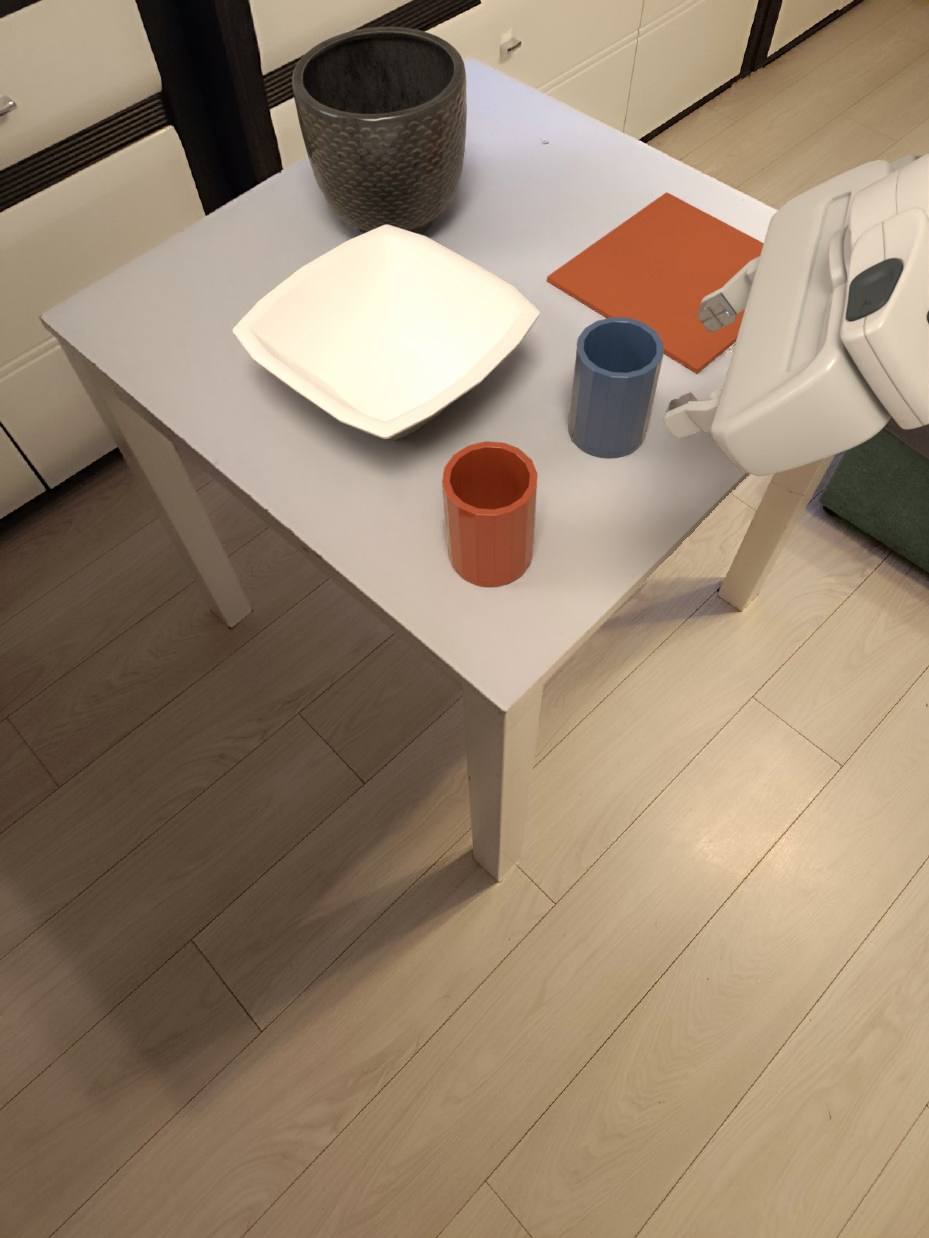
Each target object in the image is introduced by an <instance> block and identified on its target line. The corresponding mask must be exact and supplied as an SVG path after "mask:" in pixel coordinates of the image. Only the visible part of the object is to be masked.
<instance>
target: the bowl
mask: <svg viewBox="0 0 929 1238" xmlns="http://www.w3.org/2000/svg"><path fill="white" fill-rule="evenodd" d="M540 314H541V312H540V310H539V309H538V308H537V307H536V306H534V304H533V303H532V302H531V301H529V299H527V297H526V296H524V295H523V294H522V293H521V292H520V291H519V290H518V289H517V288H516V287H515V286H513V285H512V284H511V283H509V282H507V281H505V280H504V279H502V278H500V276H497V275H495V274H493V273H492V272H490V271H489V270H487V269H485V268H483V267H481V266H480V265H478V264H476V263H474V262H473V261H471V260H469V259H468V258H465V257H464V256H463V255H461V254H458V253H457V252H455V251H453V250H452V249H450V248H448V247H446V246H444V245H443V244H440V243H438V242H437V241H435V240H433V239H431V238H430V237H428V236H426V235H423V234H417V233H413V232H410V231H407V230H404V229H401V228H397V227H394V226H391V225H383V226H380V227H378V228H376V229H373V230H371V231H369V232H366V233H364V234H363V233H362V234H360V235H357V236H355V237H353V238H350V239H349V240H346V241H344V242H342V243H341V244H339V245H337V246H336V247H334V248H332V249H330V250H328V251H327V252H325V253H323V254H321V255H319V256H318V257H317V258H315V259H313V260H312V261H310V262H308V263H306V264H305V265H303V266H301V267H299V268H298V270H296V271H294V273H292V274H291V275H290V276H288V277H287V278H286V279H285V280H283V281H282V282H280V283H279V284H277V286H276V287H274V288H273V289H272V290H270V291H269V292H268V293H267V294H265V295H264V296H263V297H261V298H260V299H259V300H258V301H257V302H256V303H255V305H253V307H251V309H249V311H248V312H247V313H246V314H245V315H243V316H242V318H241V319H240V320H239V322H238V323H237V324H235V326H234V327H232V333H233V336H235V338H236V339H237V340H238V341H239V343H240V344H241V345H242V347H243V348H244V349H245V351H246V352H247V353H248V355H249V356H250V357H251V359H252V361H253V362H255V363H256V364H258V365H260V366H261V367H262V368H263V369H265V370H266V371H268V372H269V373H270V374H272V376H274V377H276V379H279V380H280V381H281V382H282V383H284V385H287V386H288V387H289V388H291V389H292V390H293V391H295V392H296V393H297V394H299V395H300V396H302V397H304V398H305V399H307V401H309V402H311V403H312V404H314V405H315V406H317V407H318V408H319V409H321V410H323V411H324V412H325V413H327V415H330V416H331V417H332V418H334V419H336V420H337V421H338V422H340V423H342V424H344V425H347V426H349V427H353V428H355V429H357V430H360V431H362V432H365V433H367V434H370V435H372V436H375V437H378V438H381V439H383V440H387V439H389V440H391V441H397V440H400V439H403V438H404V437H406V436H408V435H410V434H412V433H414V432H416V431H418V430H420V428H422V427H424V426H425V425H426V424H428V423H429V422H430V421H432V420H433V419H435V418H437V417H438V416H439V415H440V414H441V413H442V412H443V411H444V410H445V409H446V408H447V407H448V406H449V405H451V404H453V403H454V402H455V401H457V400H458V399H460V398H461V397H462V396H464V395H465V394H467V393H469V392H470V391H471V390H472V389H474V388H475V387H477V386H478V385H479V384H481V383H482V382H483V381H484V380H485V379H486V378H487V377H488V376H489V375H490V374H491V373H492V372H493V371H494V370H495V369H496V368H497V367H498V366H499V365H501V363H502V362H503V361H504V360H506V359H507V358H508V356H509V355H511V354H512V352H513V351H515V349H517V348H518V347H519V346H520V344H521V342H522V341H523V340H524V338H525V337H526V335H527V334H528V333H529V331H531V328H532V327H533V326H534V324H535V323H536V321H537V320H538V319H539V317H540Z"/></svg>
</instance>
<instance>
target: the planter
mask: <svg viewBox="0 0 929 1238" xmlns="http://www.w3.org/2000/svg"><path fill="white" fill-rule="evenodd" d="M466 72H467V71H466V67H465V62H464V60H463V58H462V55H461V54H460V52H459V51H458V50H457V49H456V47H454V45H452V44H451V43H450V42H448V41H447V40H445V39H443V38H442V37H440V36H438V35H435V34H433V33H430V32H427V31H423V30H420V29H417V28H409V27H403V26H401V27H400V26H375V27H365V28H360V29H359V28H358V29H354V30H349V31H347V32H343V33H340V34H337V35H334V36H331V37H330V38H327V39H325V40H323V41H321V42H320V43H318V44H316V45H314V46H313V47H311V48H310V49H309V50H307V52H305V54H304V55H302V57H301V58H300V59H299V60H298V61H297V63H296V65H295V66H294V69H293V72H292V75H291V87H292V94H293V99H294V104H295V108H296V114H297V119H298V124H299V127H300V132H301V136H302V139H303V142H304V147H305V150H306V154H307V157H308V160H309V163H310V166H311V170H312V173H313V176H314V178H315V181H316V184H317V186H318V188H319V190H320V191H321V194H322V195H323V197H324V198H325V200H326V202H327V203H328V205H329V206H330V208H331V209H332V210H333V211H334V212H335V213H336V214H337V215H338V216H339V217H340V218H342V219H343V220H344V221H346V222H347V223H348V224H350V225H352V226H353V227H355V228H357V229H358V230H359V231H360V232H361V233H362V234H364V233H366V232H369V231H371V230H373V229H376V228H378V227H380V226H383V225H391V226H394V227H397V228H401V229H404V230H407V231H410V232H413V233H417V234H420V235H423V233H424V232H426V231H427V230H428V229H429V228H430V227H431V225H432V224H433V222H434V221H435V220H436V219H437V218H439V216H440V215H441V214H442V213H443V212H444V211H445V210H446V209H447V207H448V206H449V204H450V203H451V202H452V200H453V199H454V197H455V194H456V192H457V189H458V186H459V184H460V181H461V177H462V172H463V168H464V161H465V150H466V139H467V117H468V116H467V115H468V114H467V113H468V102H467V99H468V98H467V73H466Z"/></svg>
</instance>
